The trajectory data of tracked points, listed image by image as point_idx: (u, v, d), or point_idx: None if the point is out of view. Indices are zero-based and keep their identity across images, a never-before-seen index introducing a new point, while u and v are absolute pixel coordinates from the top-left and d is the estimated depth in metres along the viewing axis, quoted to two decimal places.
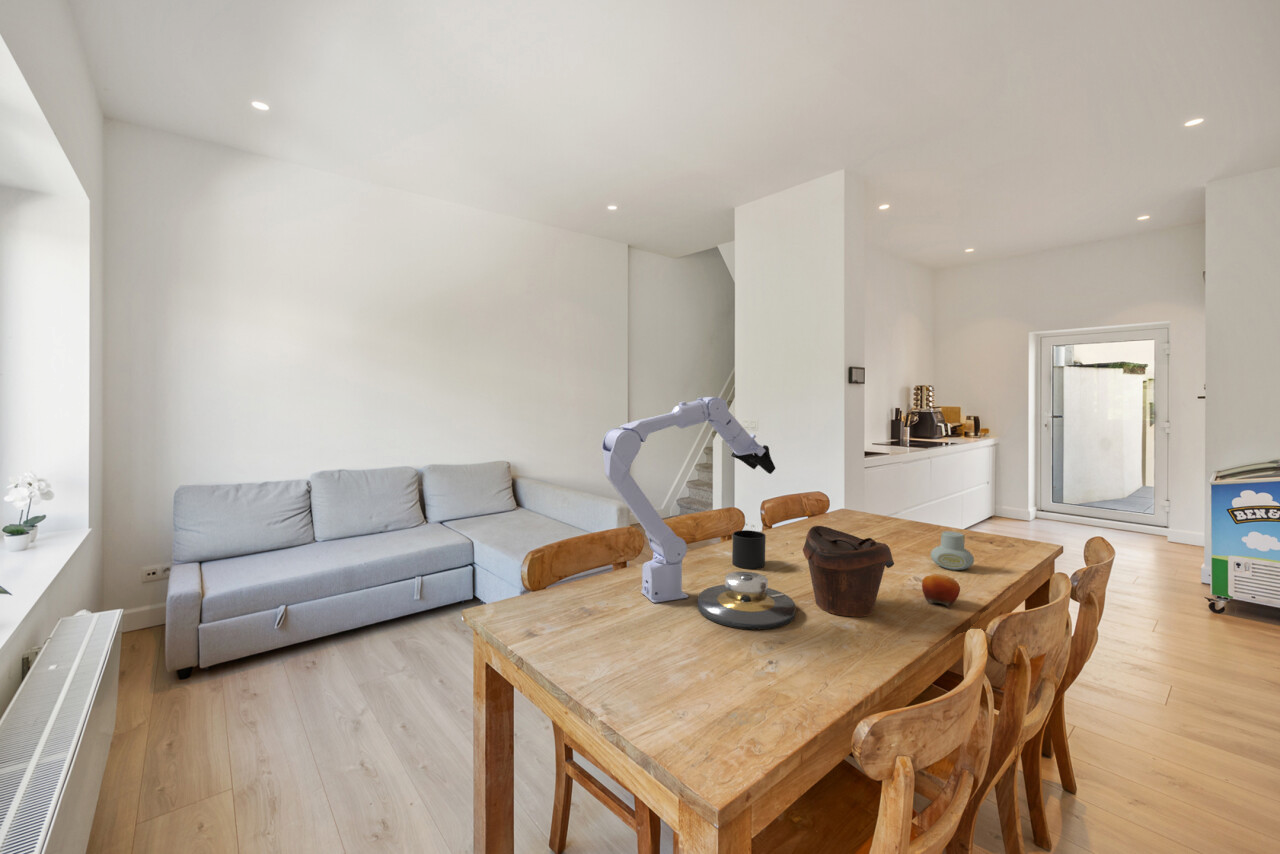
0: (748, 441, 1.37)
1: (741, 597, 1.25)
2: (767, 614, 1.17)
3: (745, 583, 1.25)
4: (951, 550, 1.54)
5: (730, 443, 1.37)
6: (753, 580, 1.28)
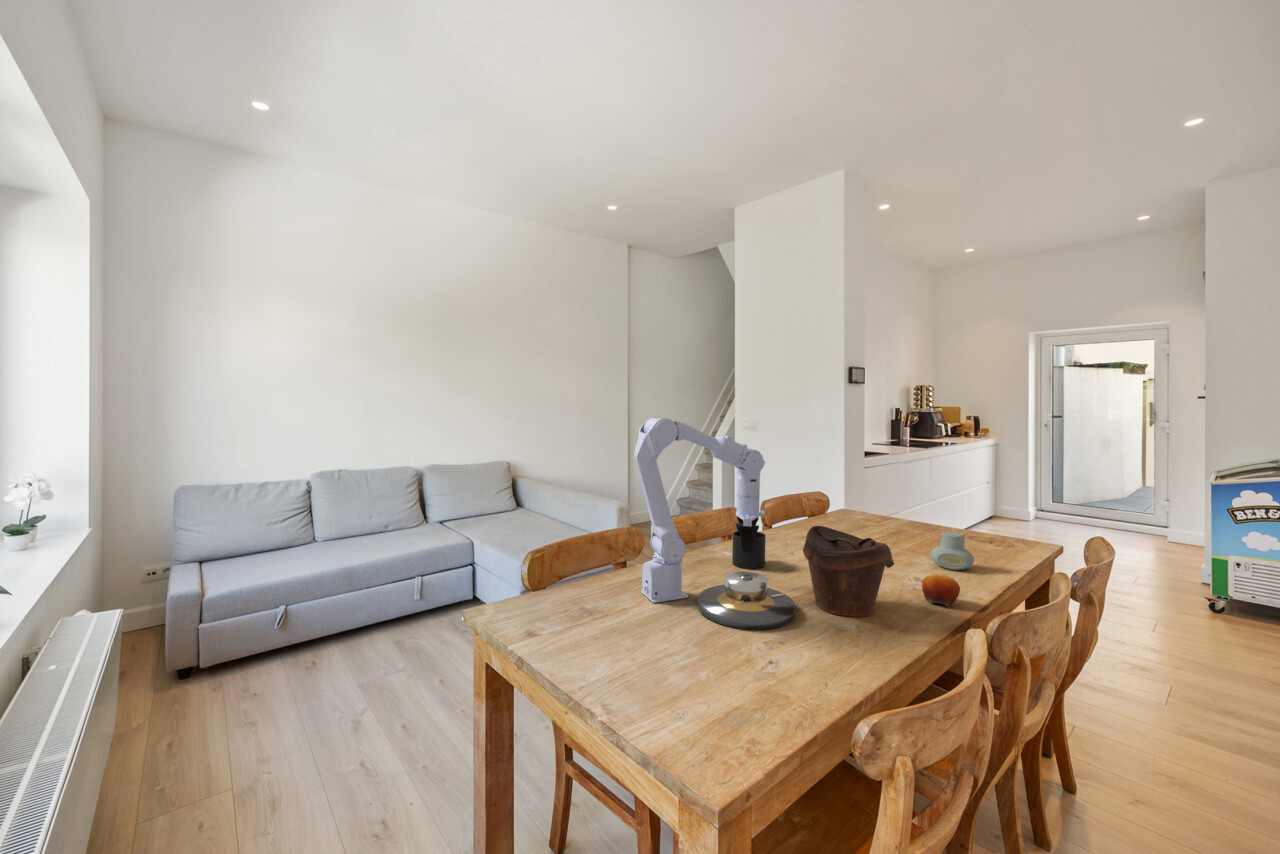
0: (750, 510, 1.35)
1: (741, 597, 1.25)
2: (767, 614, 1.17)
3: (745, 583, 1.25)
4: (951, 550, 1.54)
5: (737, 499, 1.38)
6: (753, 580, 1.28)
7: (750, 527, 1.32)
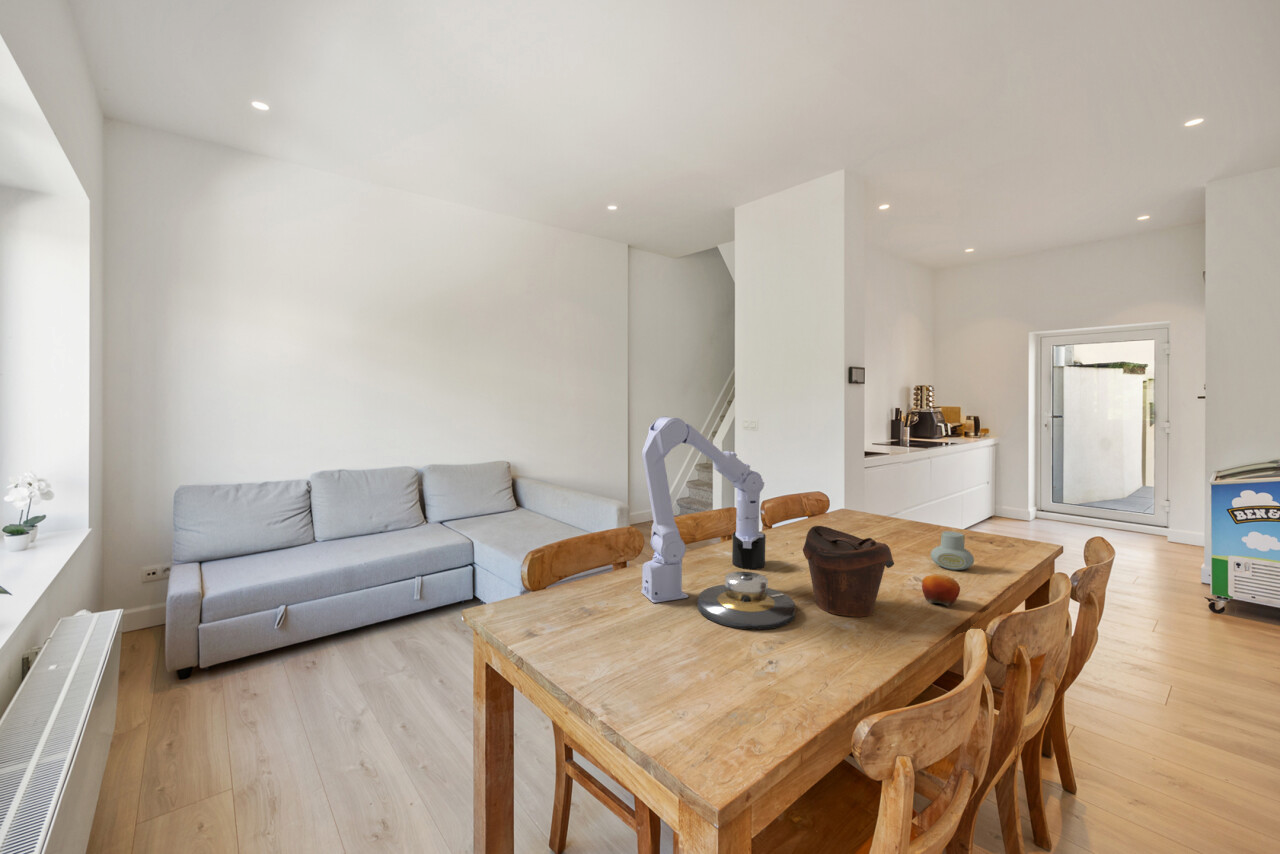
0: (750, 531, 1.36)
1: (741, 597, 1.25)
2: (767, 614, 1.17)
3: (745, 583, 1.25)
4: (951, 550, 1.54)
5: (736, 520, 1.38)
6: (753, 580, 1.28)
7: None
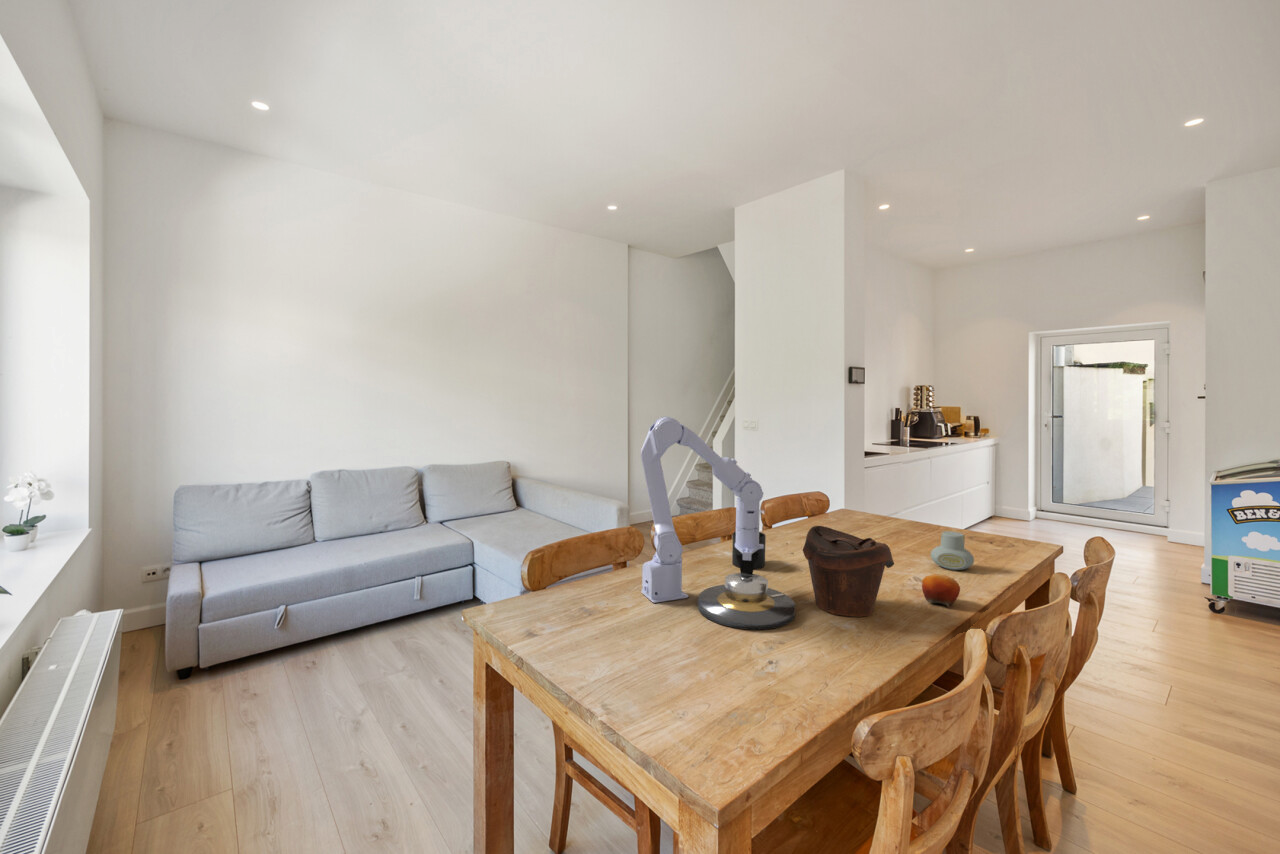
0: (749, 543, 1.31)
1: (741, 599, 1.24)
2: (767, 614, 1.17)
3: (745, 585, 1.25)
4: (951, 550, 1.54)
5: (736, 530, 1.34)
6: (753, 581, 1.27)
7: None
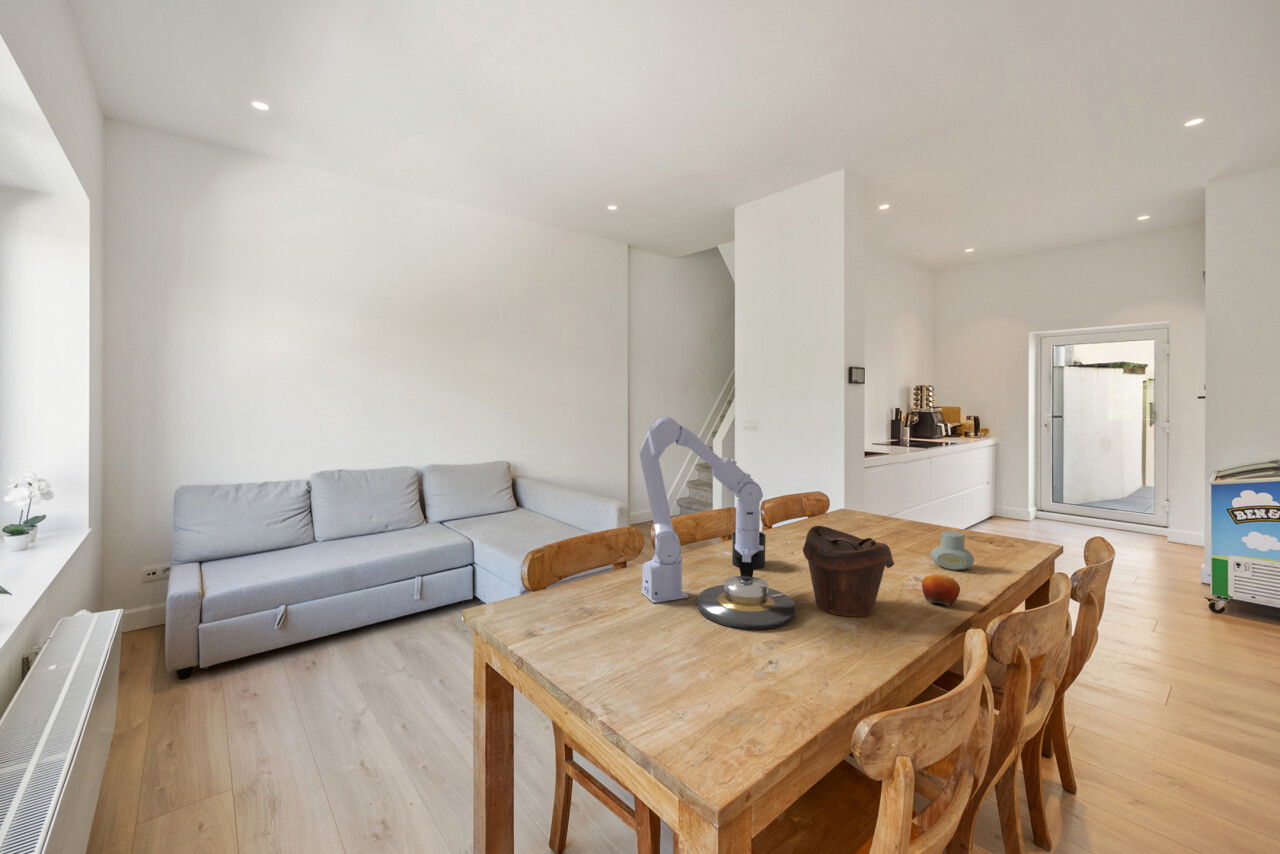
0: (749, 544, 1.30)
1: (741, 602, 1.22)
2: (766, 614, 1.17)
3: (745, 588, 1.22)
4: (951, 550, 1.54)
5: (736, 532, 1.32)
6: (753, 585, 1.25)
7: None
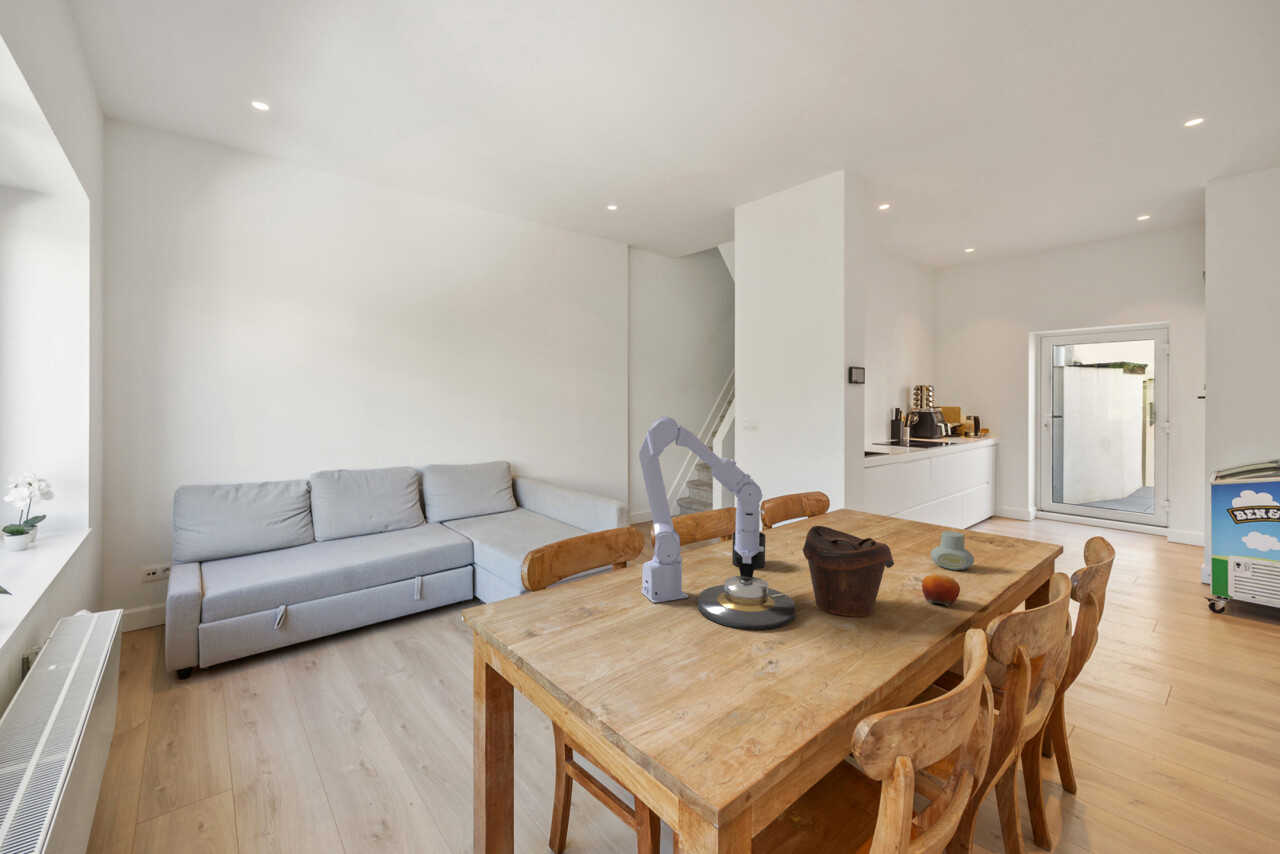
0: (749, 545, 1.29)
1: (741, 602, 1.22)
2: (766, 614, 1.17)
3: (745, 588, 1.22)
4: (951, 550, 1.54)
5: (736, 533, 1.31)
6: (753, 585, 1.25)
7: None
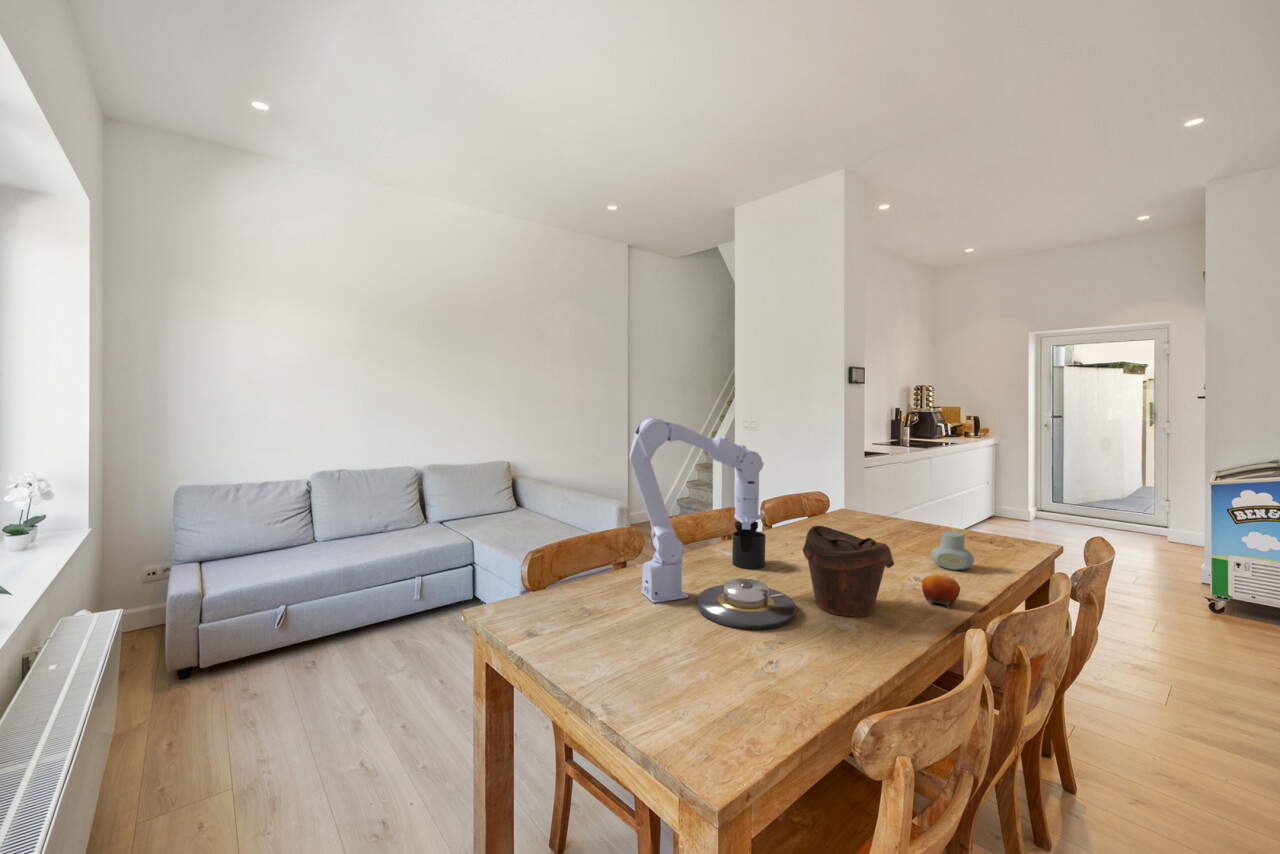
0: (749, 513, 1.32)
1: (741, 606, 1.20)
2: (766, 614, 1.17)
3: (745, 592, 1.20)
4: (951, 550, 1.54)
5: (735, 501, 1.35)
6: (753, 588, 1.22)
7: None
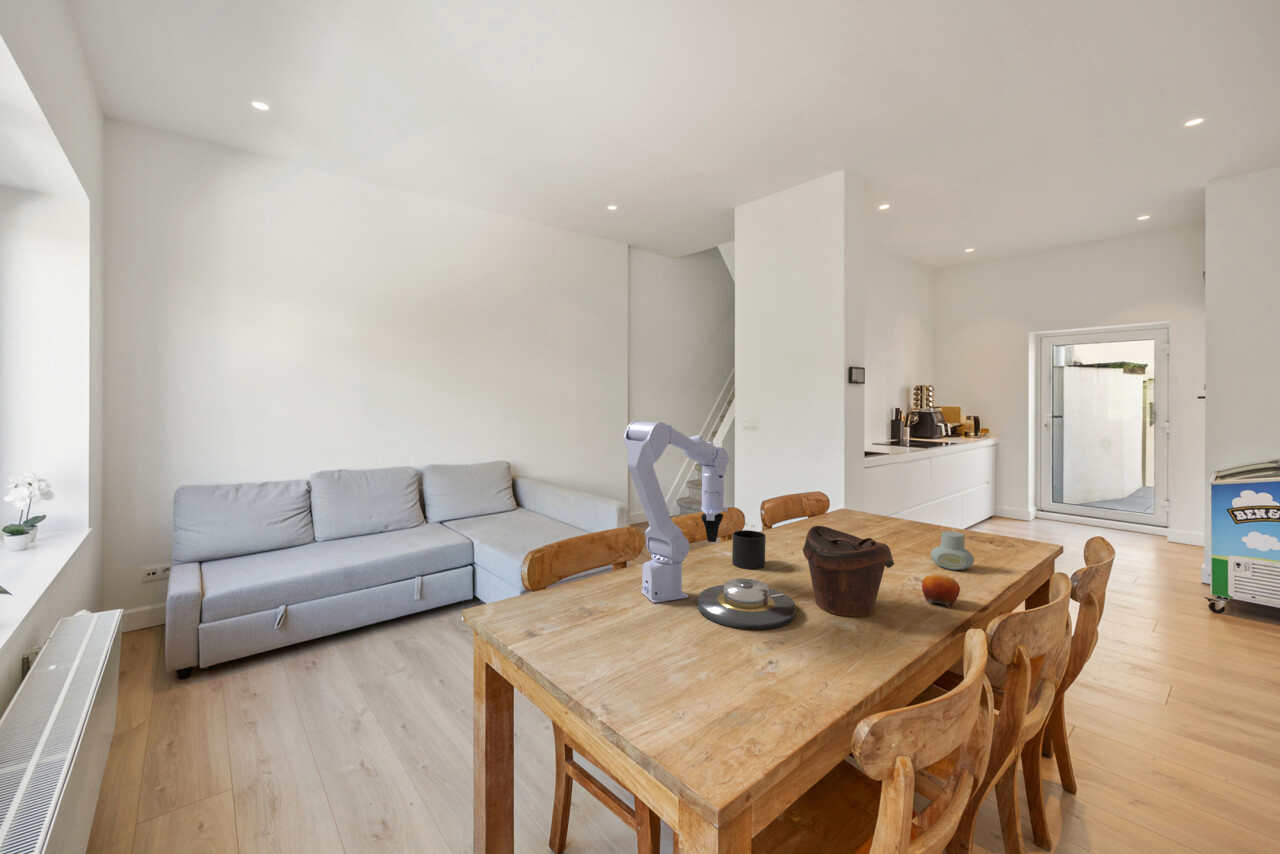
0: (714, 505, 1.41)
1: (741, 606, 1.20)
2: (766, 614, 1.17)
3: (745, 592, 1.20)
4: (951, 550, 1.54)
5: (702, 494, 1.44)
6: (753, 588, 1.22)
7: None
